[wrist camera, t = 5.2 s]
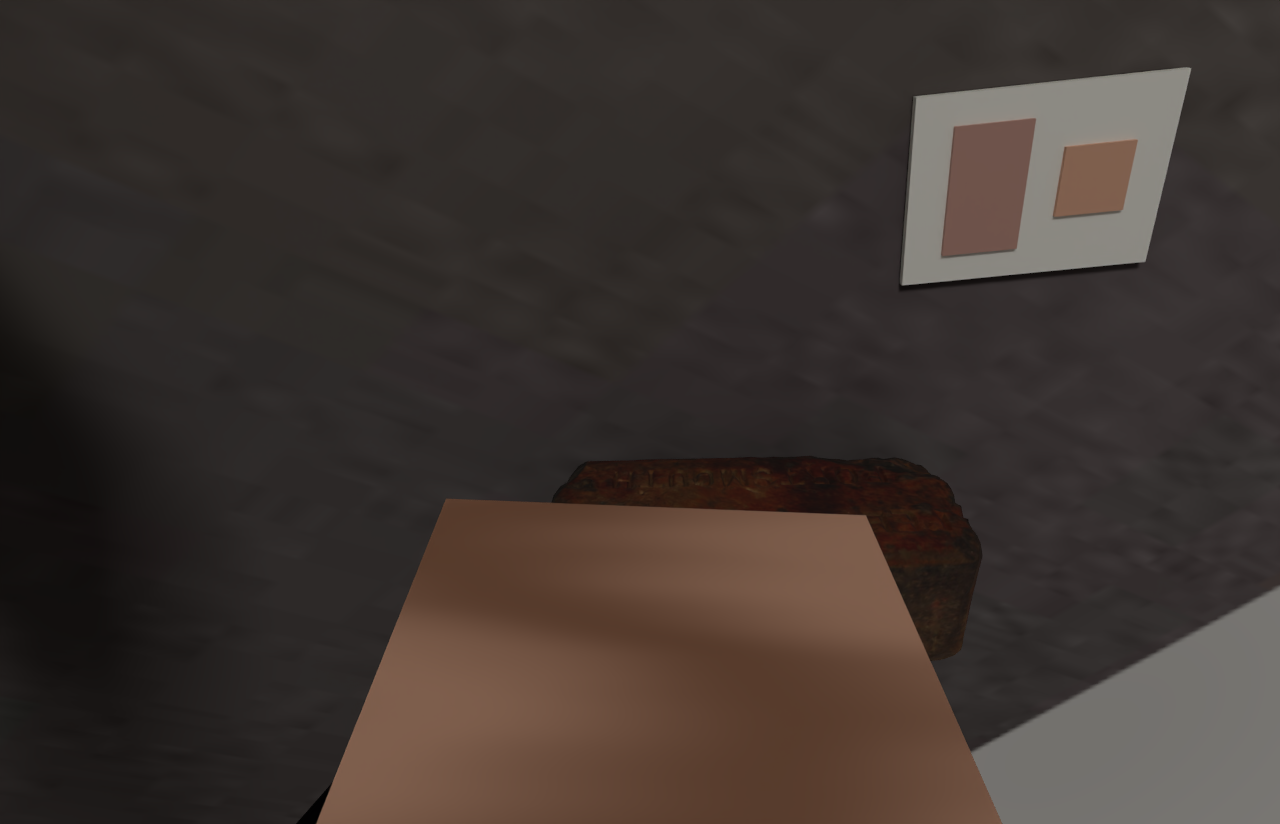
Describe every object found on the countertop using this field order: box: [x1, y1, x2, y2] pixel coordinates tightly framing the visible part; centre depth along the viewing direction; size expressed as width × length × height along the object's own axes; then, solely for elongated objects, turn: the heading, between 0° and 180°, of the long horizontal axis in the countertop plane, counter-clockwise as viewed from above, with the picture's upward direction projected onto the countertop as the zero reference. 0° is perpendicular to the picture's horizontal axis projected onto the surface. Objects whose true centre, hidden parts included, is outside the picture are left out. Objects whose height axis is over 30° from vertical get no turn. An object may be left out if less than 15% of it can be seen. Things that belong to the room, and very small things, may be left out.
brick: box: [552, 456, 982, 661], centre depth 20 cm, size 11×4×5 cm, turn 92°
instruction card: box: [900, 67, 1191, 285], centre depth 17 cm, size 6×4×1 cm
